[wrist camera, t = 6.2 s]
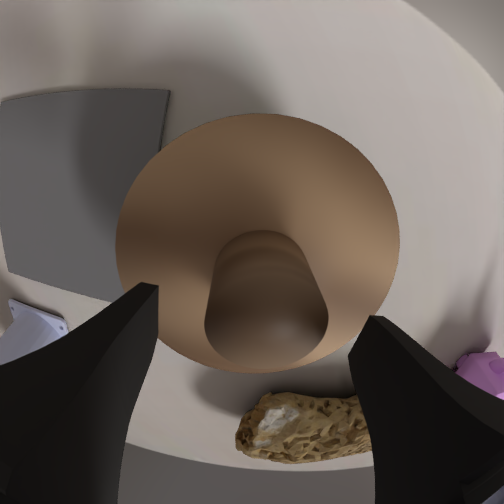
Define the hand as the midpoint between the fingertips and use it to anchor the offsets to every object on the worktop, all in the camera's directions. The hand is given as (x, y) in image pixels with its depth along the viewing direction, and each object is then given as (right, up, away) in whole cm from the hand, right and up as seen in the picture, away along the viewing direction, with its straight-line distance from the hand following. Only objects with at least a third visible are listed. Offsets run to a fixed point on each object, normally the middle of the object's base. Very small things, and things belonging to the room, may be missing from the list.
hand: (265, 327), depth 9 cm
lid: (0, +2, +4) cm, 4 cm away
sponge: (+9, -14, +17) cm, 24 cm away
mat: (-14, +6, +7) cm, 17 cm away
